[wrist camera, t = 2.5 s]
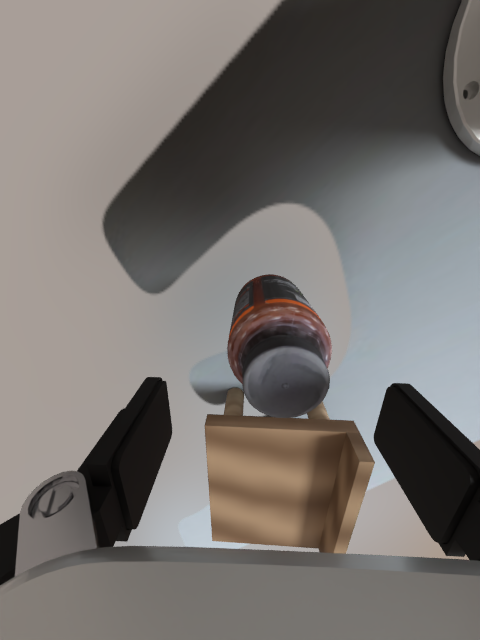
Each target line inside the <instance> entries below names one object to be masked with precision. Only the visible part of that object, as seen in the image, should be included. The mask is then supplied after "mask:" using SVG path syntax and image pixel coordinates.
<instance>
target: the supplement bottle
mask: <svg viewBox="0 0 480 640" xmlns="http://www.w3.org/2000/svg"><path fill="white" fill-rule="evenodd" d="M331 354H332V345H331V340H330V336H329V333H328V331H327V329H326V327H325V325H324V323H323V322H322V321H321V319H320V318H319V316H318V315H317V313H316V312H315V311H314V309H313V308H312V307H311V305H310V304H309V303H308V301H307V300H306V299H305V297H304V296H303V294H302V293H301V292H300V291H299V289H298V288H297V287H296V286H295V285H294V284H293V283H292V282H290V281H289V280H288V279H286V278H284V277H281V276H278V275H262V276H259V277H256V278H254V279H252V280H250V281H249V282H248V283H246V284H245V285H244V287H243V288H242V289H241V291H240V292H239V294H238V297H237V299H236V303H235V308H234V313H233V318H232V324H231V329H230V334H229V340H228V359H229V363H230V367H231V369H232V371H233V373H234V375H235V376H236V378H237V379H238V380H239V381H240V382H241V383H242V384H243V390H244V393H245V396H246V398H247V399H248V401H249V403H250V404H251V405H252V406H253V407H254V408H256V409H257V410H258V411H260V412H262V413H264V414H266V415H269V416H272V417H276V418H292V417H297V416H301V415H304V414H306V413H308V412H310V411H312V410H313V409H315V408H316V407H317V406H318V405H319V404H321V402H322V401H323V399H324V398H325V396H326V394H327V392H328V389H329V383H330V376H329V372H328V369H327V368H328V365H329V363H330V360H331Z"/></svg>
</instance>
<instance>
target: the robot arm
mask: <svg viewBox="0 0 480 640" xmlns="http://www.w3.org/2000/svg"><path fill="white" fill-rule="evenodd" d="M443 87H444V102H445V105H446V109H447V113H448V117H449V121H450V123H451V125H452V127H453V128H454V130H455V132H456V134H457V136H458V138H459V139H460V140H461V141H462V142H463V143H464V144H465V145H466V146H467V147H468V148H469V149H470V150H471V151H473V152H474V153H476V154H478V155H479V156H480V0H462V2H461V5H460V7H459V10H458V12H457V15H456V17H455V20H454V23H453V25H452V29H451V33H450V37H449V41H448V45H447V49H446V54H445V64H444V73H443ZM171 435H172V424H171V416H170V409H169V400H168V392H167V385H166V381H162V378H160V377H147V378H146V379H145V380H144V382H143V383H142V385H141V386H140V388H139V389H138V390H137V392H136V393H135V395H134V396H133V398H132V399H131V401H130V402H129V403H128V405H127V407H126V408H125V409H123V410H121V411H120V412H119V413H118V414H117V416H116V417H115V419H114V420H113V421H112V423H111V424H110V426H109V427H108V428H107V430H106V431H105V433H104V434H103V435H102V437H101V438H100V440H99V441H98V442H97V444H96V445H95V447H94V448H93V449H92V451H91V452H90V454H89V455H88V456H87V458H86V459H85V461H84V462H83V464H82V465H81V466H80V468H79V469H78V470H77V471H67V472H62V473H59V474H57V475H54V476H52V477H50V478H49V479H47V480H45V481H44V482H43V483H41V484H40V485H39V486H38V487H36V488H35V489H34V490H33V491H32V493H31V494H30V495H29V496H28V497H27V499H26V500H25V502H24V504H23V505H22V509H21V512H20V514H18V515H16V516H14V517H13V518H11V519H9V520H8V521H6V522H4V523H2V524H1V525H0V640H480V450H479V449H478V448H477V447H476V446H475V445H474V444H473V443H472V442H471V441H470V440H469V439H468V438H467V437H466V436H465V435H463V434H462V433H461V432H460V431H459V430H458V429H457V428H456V427H455V426H454V425H453V424H452V423H451V422H450V421H449V420H448V419H447V418H445V417H444V416H443V415H442V414H441V413H440V412H439V411H438V410H437V409H436V408H435V407H434V406H433V405H432V404H431V403H430V402H428V401H427V400H426V399H425V398H424V397H423V396H422V395H421V394H420V393H419V392H418V391H417V390H416V389H415V388H414V387H413V386H411V385H410V384H402V383H394V384H392V385H391V386H390V387H388V388H387V390H386V393H385V397H384V401H383V404H382V408H381V411H380V415H379V419H378V422H377V426H376V429H375V433H374V442H375V444H376V446H377V448H378V449H379V451H380V453H381V454H382V456H383V458H384V459H385V461H386V463H387V464H388V466H389V468H390V469H391V471H392V473H393V474H394V476H395V478H396V479H397V481H398V483H399V484H400V486H401V488H402V489H403V491H404V493H405V494H406V496H407V498H408V500H409V501H410V503H411V504H412V506H413V508H414V510H415V511H416V513H417V515H418V516H419V518H420V520H421V521H422V523H423V524H424V526H425V528H426V530H427V531H428V533H429V534H430V536H431V538H432V539H433V540H434V541H435V542H438V543H439V545H440V546H441V548H442V550H443V551H444V553H445V554H446V556H461V557H464V556H465V554H466V555H467V557H468V558H469V560H460V559H441V558H422V557H403V556H402V557H401V556H382V555H362V554H342V553H320V552H296V551H275V550H250V549H224V548H199V547H156V546H122V547H113V546H114V543H115V541H127V540H128V538H129V535H130V533H131V530H132V529H136V528H137V526H138V524H139V522H140V519H141V517H142V514H143V511H144V509H145V506H146V503H147V501H148V498H149V495H150V493H151V490H152V487H153V485H154V482H155V479H156V476H157V474H158V471H159V469H160V466H161V463H162V460H163V458H164V455H165V453H166V450H167V447H168V444H169V442H170V439H171Z"/></svg>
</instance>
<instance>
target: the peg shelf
mask: <svg viewBox="0 0 480 640" xmlns="http://www.w3.org/2000/svg"><path fill="white" fill-rule="evenodd" d="M243 403H244V392H243V391H242V390H241V389H239V388H231V389H229V390H228V392H227V398H226V404H225V411H224V415H213V414H208V415H207V419H206V423H205V437H206V450H207V451H206V452H207V466H208V481H209V496H210V511H211V526H212V541H222V542H236V543H250V544H264V545H279V546H293V547H306V548H319V552H320V553H342V554H346V551H347V548H348V545H349V541H350V538H351V535H352V532H353V529H354V526H355V523H356V520H357V517H358V513H359V510H360V507H361V504H362V501H363V498H364V495H365V492H366V489H367V486H368V482H369V479H370V476H371V473H372V470H373V467H374V464H375V462H374V460H373V458H372V456H371V454H370V452H369V450H368V448H367V446H366V444H365V442H364V440H363V438H362V436H361V434H360V432H359V430H358V428H357V427H356V425H355V423H354V421H346V420H330V419H329V417H328V414H327V412H326V409H325V407H324V404H323V402H321V404H319V405H318V406H317V407H316V408H315V409H313V410H312V411H310V412H308V413H307V415H308V418H309V419H301V418H276V417H257V416H256V417H255V416H243Z"/></svg>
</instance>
